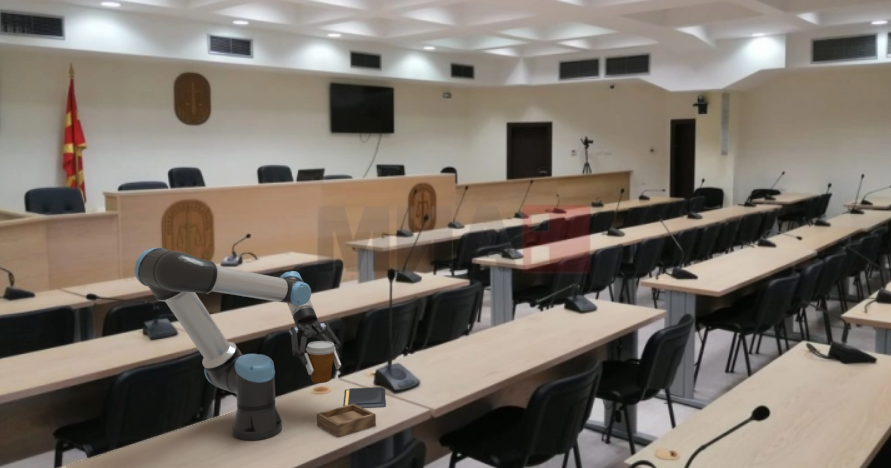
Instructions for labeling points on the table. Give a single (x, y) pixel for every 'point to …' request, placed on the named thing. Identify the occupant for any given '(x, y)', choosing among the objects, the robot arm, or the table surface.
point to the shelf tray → (346, 420)
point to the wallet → (365, 397)
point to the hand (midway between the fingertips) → (325, 369)
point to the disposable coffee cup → (321, 360)
